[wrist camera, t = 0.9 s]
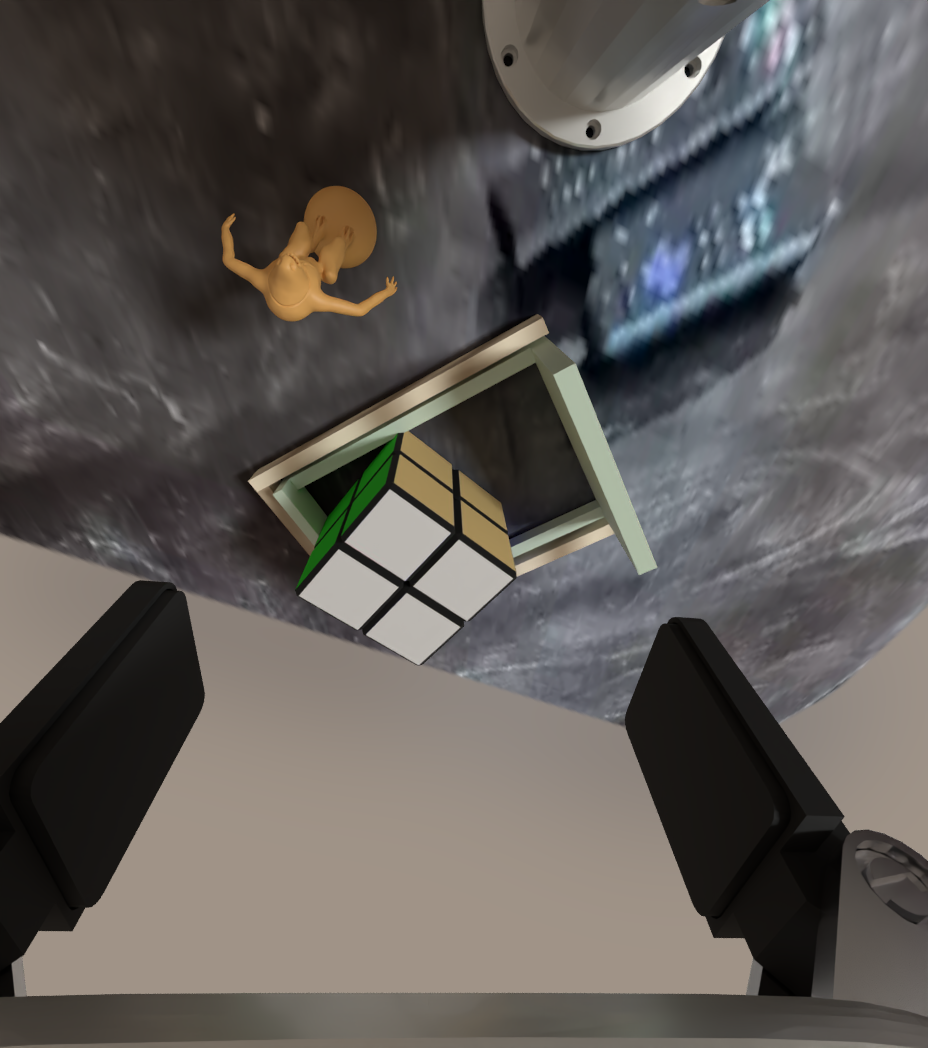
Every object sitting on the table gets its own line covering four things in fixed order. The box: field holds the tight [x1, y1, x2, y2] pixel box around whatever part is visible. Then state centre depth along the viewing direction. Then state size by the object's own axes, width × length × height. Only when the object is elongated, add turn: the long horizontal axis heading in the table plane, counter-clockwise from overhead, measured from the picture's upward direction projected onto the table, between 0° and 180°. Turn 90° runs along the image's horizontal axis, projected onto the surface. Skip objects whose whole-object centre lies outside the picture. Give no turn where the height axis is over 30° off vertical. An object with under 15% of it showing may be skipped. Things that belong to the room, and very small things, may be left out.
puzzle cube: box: [295, 431, 517, 666], centre depth 34 cm, size 10×10×10 cm
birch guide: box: [248, 314, 615, 576], centre depth 37 cm, size 23×17×2 cm
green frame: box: [273, 336, 657, 575], centre depth 34 cm, size 21×14×9 cm, turn 118°
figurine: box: [221, 186, 397, 321], centre depth 25 cm, size 8×6×12 cm
